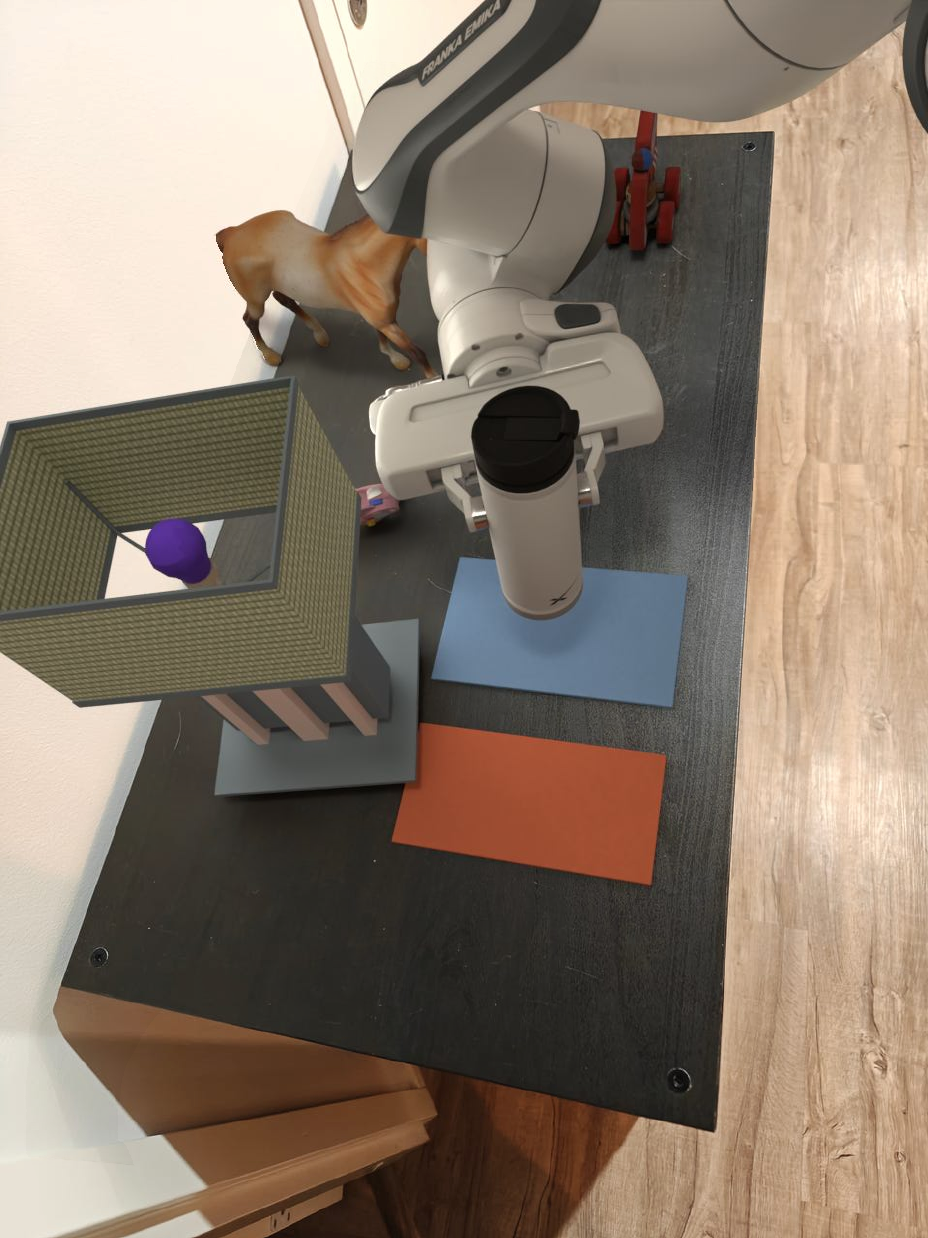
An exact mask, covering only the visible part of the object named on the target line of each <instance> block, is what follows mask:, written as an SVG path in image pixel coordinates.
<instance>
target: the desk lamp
mask: <svg viewBox="0 0 928 1238" xmlns="http://www.w3.org/2000/svg"><path fill="white" fill-rule="evenodd" d="M355 489H356V488H355V486H354V485H353V483H352V481H351V479H350V477H349V476H348V474H347V471H346V470H345V468H344V467H343V465H342V463H341V461H340V459H339V457H338V455H337V454H336V452H335V450H334V448H333V445H332V444H331V442H330V441H329V439H328V436H327V435H326V433H325V431H324V429H323V428H322V426H321V424H320V422H319V420H318V418H317V417H316V415H315V413H314V411H313V409H312V408H311V405H310V404H309V402H308V400H307V398H306V396H305V394H304V393H303V391H302V389H301V387H300V382H299V380H298V378H297V376H296V375H295V374H291V375H286V376H279V377H273V378H267V379H260V380H254V381H250V382H242V383H236V384H229V385H224V386H223V385H222V386H218V387H211V388H205V389H199V390H192V391H187V392H180V393H175V394H167V395H162V396H155V397H149V398H143V399H137V400H131V401H125V402H124V401H123V402H119V403H112V404H107V405H100V406H95V407H88V408H82V409H76V410H70V411H64V412H63V411H62V412H58V413H50V414H46V415H39V416H32V417H26V418H20V419H14V420H8V421H6V424H5V427H4V431H3V435H2V439H1V441H0V654H1V655H4V657H7V658H8V659H10V661H13V662H14V663H15V664H17V665H18V666H19V667H21V668H22V669H24V670H26V671H27V672H29V673H30V674H31V675H33V676H34V677H36V678H38V679H39V680H40V681H42V682H44V683H45V684H46V685H48V686H49V687H51V688H52V689H54V690H55V691H56V692H58V693H60V694H61V695H62V696H64V697H65V698H67V699H69V700H70V701H72V702H71V703H72V704H73V705H75V706H76V707H77V708H79V709H83V708H92V707H103V706H113V705H124V704H134V703H144V702H152V701H153V702H155V701H164V700H174V699H175V700H176V699H187V698H196V697H197V698H198V699H199V700H200V701H202V702H203V703H204V704H205V705H206V706H207V707H209V708H210V709H211V710H212V711H213V712H215V713H216V714H217V715H218V716H219V717H220V718H222V719H223V721H222V729H221V730H222V731H221V738H220V745H219V755H218V762H217V769H216V777H215V786H214V792H213V793H214V794H213V796H214V797H216V798H220V797H221V798H222V797H232V796H233V797H234V796H247V795H260V794H261V795H262V794H273V793H274V794H275V793H287V792H298V791H299V792H301V791H313V790H314V791H315V790H316V791H317V790H329V789H341V788H353V787H355V788H356V787H367V786H382V785H392V784H393V785H395V784H405V783H410V782H417V742H418V730H419V693H420V692H419V690H420V689H419V688H420V651H421V650H420V646H421V641H420V640H421V638H420V637H421V620H420V619H419V618H412V619H402V620H392V621H384V622H374V623H365V624H362V623H361V622H360V621H359V619H358V618H357V616H356V601H357V600H356V599H357V585H358V584H357V583H358V568H359V549H360V533H361V525H360V518H361V501H362V498H361V496H360V495H359V493H358V491H356V490H355ZM269 514H275V519H274V528H273V535H272V546H271V555H270V561H269V562H268V563H267V564H266V565H264V566H263V567H261V568H260V569H259V570H258V571H256V572H255V573H253V574H252V575H250V576H249V577H248V578H246V579H245V580H244V581H240V582H233V583H223V582H222V581H221V580H220V579H219V575H220V574H219V573H220V571H219V568H218V566H217V565H216V563H215V562H214V560H212V559H211V558H210V557H209V554H208V549H207V548H208V547H207V541H206V538H205V536H204V535H203V532H202V531H201V529H200V527H198V526H196V525H195V524H200V523H207V522H208V523H210V522H216V521H222V520H231V519H238V518H246V517H252V516H253V517H254V516H261V515H269ZM148 530H149V531H148ZM140 531H148V534H147V536H146V539H145V544H144V546H143V545H141V544H139V543H138V542H136V541H135V540H133V539H131V538H130V537H128V536H127V535H125V533H133V532H140ZM118 537H119V538H121V539H122V540H124V541H125V542H127V543H128V544H130V545H132V546H133V547H134V548H137V549H138V550H140V551H141V552H143V553H144V554H145V556H146V558H147V560H148V561H149V563H150V566H151V567H152V568H153V569H154V570H155V571H157V572H159V573H161V574H162V575H165V576H166V577H168V578H173V579H176V580H180V581H181V583H182V584H183V585H184V586H185V587H186V588H184V589H183V588H182V589H175V590H165V591H159V592H150V593H141V594H133V595H125V596H116V597H107V598H106V594H107V590H108V584H109V580H110V574H111V569H112V566H113V565H112V564H113V560H114V554H115V550H116V545H117V539H118ZM268 570H269V572H268V578H266V579H265V578H264V579H258V580H255V579H257V578H258V577H259V576H261V575H262V574H263V573H265V572H266V571H268Z"/></svg>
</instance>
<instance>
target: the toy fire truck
mask: <svg viewBox="0 0 928 1238" xmlns="http://www.w3.org/2000/svg"><path fill="white" fill-rule="evenodd" d="M658 116H659V114H657V113H652V112H647V111H641V110H639V118H638V123H637V124H638V125H637V130H636V137H635V143H634V144H635V146H634V152H633V154H632V156H631V167H632V175H631V172H630V168H629V167H616V168H615V169H614V175H615V183H616V195H617V200H616V212H615V217H614V222H613V225H612V228H611V230H610V233H609V235H608V237H607V239H606V241H605V243H606V244H614V245H617V244H620V243H621V242H622V238H623V236H624V237H627V236H628V237H629V241H628V242H629V244H628V245H629V249H630V250H632V251H644V250H645V249H646V245H647V238H648V233H649V229H656V235H655V236H656V237H655V239H656V242H657V243H658V244H671V242H672V240H673V235H674V229H675V228H674V227H675V212H676V209H678V207H679V205H680V198H681V185H682V184H681V183H682V182H681V181H682V180H681V179H682V169H681V167H680V166H668V167H666V168H665V171H664V180H663V181H664V182H658V183H656V175H657V165H658V158H659V157H658V156H659V149H658V146H657V145H658V138H657V137H658ZM657 194H663V197H662V200H661V201H659V200H658V199H657V198H656V195H657Z"/></svg>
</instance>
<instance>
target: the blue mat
mask: <svg viewBox="0 0 928 1238" xmlns="http://www.w3.org/2000/svg"><path fill="white" fill-rule="evenodd" d="M582 573H583V589H582V593H581V596H580V598H579V600H578V602H577V603H576V604H575V606H574V607H573V608H572V609H571V610H569V611H568V612H567V613H565V614H563V615H562V616H560V617H557V618H554V619H550V620H532V619H528V618H525V617H522V616H520V615H519V614H517V613H515V612H514V611H513V610H512V609H511V608H510V607H509V606H508V604H507V603H506V601H505V599H504V596H503V592H502V588H501V583H500V578H499V574H498V569H497V564H496V559H490V558H489V559H488V558H477V557H464V556H460V557H459V561H458V565H457V569H456V573H455V576H454V580H453V586H452V590H451V593H450V598H449V601H448V606H447V611H446V614H445V618H444V623H443V627H442V631H441V636H440V639H439V643H438V646H437V652H436V656H435V660H434V664H433V668H432V671H431V677H430V679H431V680H432V681H439V682H444V683H445V682H446V683H455V684H463V685H472V686H480V687H488V688H496V689H503V690H504V689H505V690H514V691H521V692H529V693H537V694H538V693H539V694H544V695H545V694H546V695H554V696H562V697H571V698H580V699H588V700H596V701H605V702H613V703H621V704H630V705H638V706H647V707H655V708H664V709H673V707H674V700H675V692H676V683H677V673H678V667H679V657H680V650H681V641H682V632H683V624H684V615H685V608H686V600H687V599H686V598H687V590H688V583H689V576H688V575H683V574H682V575H680V574H669V573H657V572H645V571H643V572H642V571H635V570H634V571H632V570H620V569H608V568H598V567H597V568H596V567H585V566H582Z"/></svg>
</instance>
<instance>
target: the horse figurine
mask: <svg viewBox="0 0 928 1238" xmlns="http://www.w3.org/2000/svg"><path fill="white" fill-rule="evenodd" d="M215 235H216V242H217V244H218V247H219V249H220V251H221V252H222V253H223V256H222V259H223V264H224V266H225V269H226V272H227V274H228V276H229V279H230V281H231V282H232V284H233V286H234V287H235V289H236V290H235V291H236V292H237V294H239V295H240V297H241V298H242V299H243V301H245V302H246V308H245V311H244V313H243V315H242V318H241V319H242V321H243V322H244V324H245V326H246V327H247V328H248V329H249V332H250V334H251V333H252V335H253V337H254V339H255V341H256V345H257V347H258V349H259V350H260V352H261V353H262V354H263V356H264V358H265V360H266V361H265V360H264V361H265V362H266V363H267V364H268V365H271V366H279V365H280V364H281V362H280V360H281V357H282V358H283V356H282V355H281V354H280V353H278V352H277V351H276V350H275V349H273V348H272V347H269V346H268V344H267V343H266V342H265V340H264V338H263V337H262V334H261V331H260V319H262V317H264V314H265V311H266V309H265V308H266V307H265V306H266V302H267V301H268V299H269V298H270V295H272V297H273V298H274V300H275V301H276V302H278V304H280V305H281V306H282V307H284V308H286V309H288V310H289V311H291V312H292V313H293V314H294V315H296V316H297V317H298V318H299V319H300V321H302V323H304V325H305V326H306V327H307V328H309V329H310V330H313V338H314V340H315V342H316V343H317V344H318V345H320V346H322V347H326V346H325V345H327V344H328V343H329V344H330V338H329V335H328V334H327V331H326V330H325V329H324V328H323V327H322V325H321V324H320V322H319V321H318V320H317V318H315V317H314V316H313V315H311V313H309V312H307V311H306V310H305V309H303V308H302V306H301V305H303V306H304V307H309V308H313V309H332V310H342V311H347V312H352V313H356V314H359V315H361V317H362V318H363V319H364V320H365V321H366V322H367V324H369V325H370V326H372V327H373V328H374V329H375V331H376V332H377V336H378V341H379V342H378V344H379V350H380V352H381V353H382V354H385V355H387V356H388V357H389V359H390V362H391V363H392V364H393V366H394V367H395V368H396V369H397V370H400V371H401V370H403V371H404V370H407V369H408V368H409V367H410V366H411V361H410V359H409V358H408V357H406V356H405V355H403V353H400V352H398V351H396V350H395V349H394V348H393V347H392V346H391V344H390V342H389V340H390V341H391V342H393V344H395V345H396V346H398V347H399V348H400V349H402V350H403V351H404V352H405V353H406V354H408V355H409V356H410V358H411V360H413V361H414V363H416V364H417V365H419V366H420V368H421V370H422V371H423V373H424V374H425V377H426V378H430V377H435V376H440V375H439V374H438V373H437V372H436V370H435V369H434V368H433V367H432V365H431V363H430V362H429V360H428V357H427V354H426V352H425V350H424V349H423V348H422V347H420V346H419V345H417V344H415V343H414V342H413V341H412V339H411V338H410V337H409V335H408V334H407V333H406V332H405V330H404V329H403V328H402V327H401V326H400V325H399V323H398V321H397V312H398V309H399V305H400V296H401V292H402V290H401V283H402V280H403V272H404V270H405V267H406V265H407V264H408V263H407V262H408V260H409V258H410V256H411V254H412V252H413V251H414V249H415V248H417V249H418V250H419V252H420V253H421V254H423V255H424V256H425V257H427V239H426V238H421V239H417V238H411V237H405V236H399V235H392V234H386V233H383V232H382V231H381V229H380V228H379V227H378V226H377V225H376V223H375V222H374V221H373V219H372V218H371V217H370V215H369V214H368V213H367V214H365V215H364V216H362V217H361V218H360V219H358V220H355V221H354V222H352V223H349V224H346V225H344V226H343V227H341V228H339V229H338V230H336V231H335V232H333V233H332V234H329V233H327V232H325V231H323V230H322V229H319V228H317V227H314V226H313V225H309V224H307V223H305V222H303V221H302V220H299V219H298V218H297V217H296V216H295V214H294V213H292V211H290V210H286V209H277V210H276V209H275V210H270V211H268V212H264V213H261V214H258V215H255V216H253V217H251V218H249V219H248V220H246V221H244V222H242V223H241V224H238V225H234V226H233V225H232V226H231V225H230V226H228V227H224V228H222V229H221V230H219V231H218V232H216V233H215ZM299 304H300V305H299ZM252 335H251V336H252ZM253 337H252V338H253ZM388 339H389V340H388ZM329 344H328V345H329ZM328 345H327V346H328ZM259 350H258V351H259ZM279 363H280V364H279Z"/></svg>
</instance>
